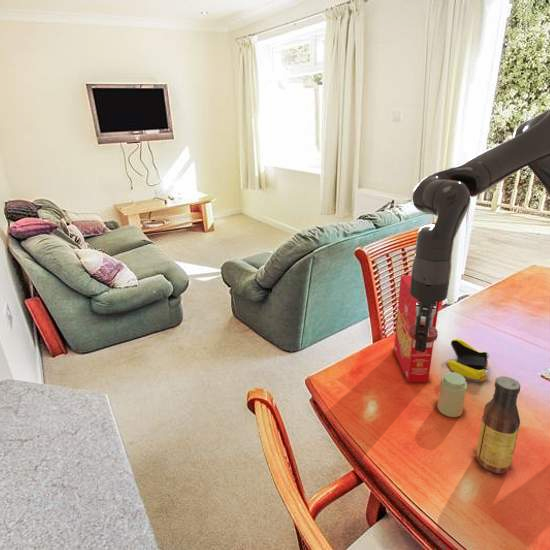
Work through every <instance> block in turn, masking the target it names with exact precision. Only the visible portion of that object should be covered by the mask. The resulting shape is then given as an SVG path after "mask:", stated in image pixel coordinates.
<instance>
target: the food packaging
mask: <svg viewBox="0 0 550 550" xmlns="http://www.w3.org/2000/svg"><path fill="white" fill-rule="evenodd" d="M411 275H412V274H409V275H407V274H403V275H400V279H399V280H400V281H399V291H398V303H397V314H396V324H395V337H394V347H393V352H394V353H395V356H396V358H397V361H398V363H399V365H400V367H401V369H402V372H403V374H404V376H405V378H406V380H407V383H428V382H429V380H430V379H429V378H430V369H431V363H432V356H433V350H434V342H435V341H433V342H430V343H427V344H426V350H425V352H420V351H416V350H415V343H416V340H414V339H412V338H411V337H410V336H409V328H410V326H411V325H413V324H415V320H416V305H417V303H418V300H417V299H415V298H413V297H412V296H411V294H410V284H411ZM439 307H440V302H437V307H436V312H435V315H434V317H433V323H432V327H434V328H435V329H436V328H437V319H438V315H439V314H438V313H439ZM436 330H437V329H436Z"/></svg>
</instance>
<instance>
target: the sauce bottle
mask: <svg viewBox="0 0 550 550" xmlns="http://www.w3.org/2000/svg"><path fill="white" fill-rule="evenodd" d="M520 391H521V384H520V382H519V381H518V380H517V379H515V378H513V377H509V376H505V375H504V376H503V375H502V376H498V377H496V378H495V381H494V393H493V396H492V399H491V400H490V401H488V402H487V403H486V404H485V405H484V409H483V415H482V416H481V423H480V427H479V434H478V439H477V445H476V453H475V454H476V459H477V462H478V464H479V466H481V467H482V468H484V469H485V470H487V471H488V472H491V473H494V474H504V473H507V471H508V470H509V469H510V467H511V465H512V462H513V458H514V453H515V448H516V445H517V440H518V435H519V431H520V425H521V419H520V415H519V410H518V406H517V405H518V404H517V399H518V395H519V394H520V393H521V392H520Z"/></svg>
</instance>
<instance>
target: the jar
mask: <svg viewBox="0 0 550 550" xmlns="http://www.w3.org/2000/svg"><path fill="white" fill-rule="evenodd" d="M466 380H467V379H465V378H464V377H463V376H462V375H460V374H458V373H454V372H451V371H449V372H446V373H444V374H443V376H442V377H441V379H440V385H439V391H438V398H437V404H436V407H437V410H438V411H439V413H440V414H443V415H444V416H446V417H450V418H458V417H460V416H461V415H463V411H464V406H465V400H466V396H467V390H468V383H467V381H466Z"/></svg>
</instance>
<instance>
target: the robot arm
mask: <svg viewBox="0 0 550 550" xmlns="http://www.w3.org/2000/svg"><path fill="white" fill-rule="evenodd" d="M526 167H528V169H529V170H530V171H531V172H532V174H533V175H534V176H535V177H536V179H537V180H538V181H539V183H540V184H541V185H542V186H543V189H545V191H546V193H547V194H548V196H550V108H548V109H546V110H544V111H543V112H541V113H539V114H537V115H535V116H533V117H531V118H529V119H527V120H525V121H523V122H521V123H520V124H519V125H518V126H516V128H515V130H514V132H513V137H512V138H510V139H508V140H506V141H504V142H502V143H499V144H498V145H495V146H493V147H491V148H489V149H487V150H485V151H483V152H480V153H479V154H478V155H477V154H476V156H474V157H472V158H470V159H469V160H467V161H465V162H463V163H462V164H461V165H458V166H454V167H449V168H447V169H443V170H441V171H438V172H435V173H432V174H430V175H428V176H426V177H425V178H423V179H422V180H420V181H419V183H417V185H416V186H415V187H414V189H413V192H412V197H411V200H412V201H411V202H412V204H413V206H414V208H415V209H417V211H420V212H421V213H424V214H428V215H433V216H435V217H436V221H435V223H434V224H428V225H424V226H421V227H420V228H419V229H418V231H417V235H416V241H415V242H416V243H415V244H416V245H415V250H414V251H415V253H414V257H413V260H412V266H411V274H410V275H411V284H410V294H411V296H412V297H413V298H415V299H417V300H418V303H417V305H416V320H415V325H416V331H415V335H414V336H415V338H416V343H415V350H416V351H420V352H425V350H426V344H427V339H428V337H429V335H428V333H429V328H431V327H432V323H433V317H434V315H435V312H436V307H437V302H439V303H440V302H443V301H445V300H446V299H447V298H448V295H449V287H450V282H451V273H452V265H453V264H452V263H453V262H452V260H453V259H452V258H453V252H454V243H455V238H456V236H457V234H458V233H459V230H460V228H461V225H462V223H463V221H464V219H465V217H466V215H467V213H468V210H469V209H470V205H471V201H472V200H471V198H475V197H477V196H481V195H482V194H483V193H485V192H487V191H489V190H490V189H492V188H494V187H496V186H497V185H499V184H500V183H502V182H504V181H505V180H506V179H508V178H509V177H511V176H513V175H514V174H516V173H517V172H519V171H521V170H522V169H524V168H526ZM420 331H423V332H420Z"/></svg>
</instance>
